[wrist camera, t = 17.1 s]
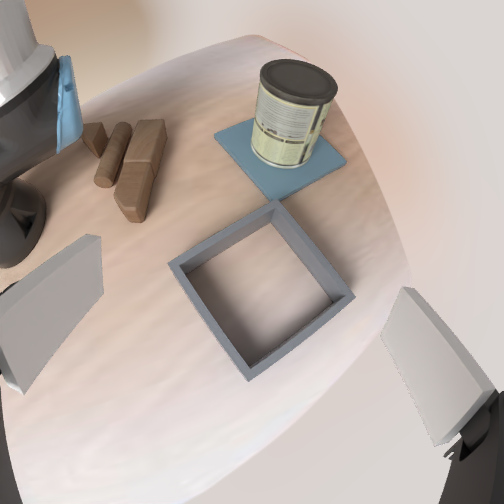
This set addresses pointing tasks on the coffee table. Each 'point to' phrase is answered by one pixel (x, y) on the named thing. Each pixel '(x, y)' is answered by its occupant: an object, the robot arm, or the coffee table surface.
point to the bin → (303, 250)
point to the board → (272, 178)
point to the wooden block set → (128, 162)
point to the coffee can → (290, 111)
